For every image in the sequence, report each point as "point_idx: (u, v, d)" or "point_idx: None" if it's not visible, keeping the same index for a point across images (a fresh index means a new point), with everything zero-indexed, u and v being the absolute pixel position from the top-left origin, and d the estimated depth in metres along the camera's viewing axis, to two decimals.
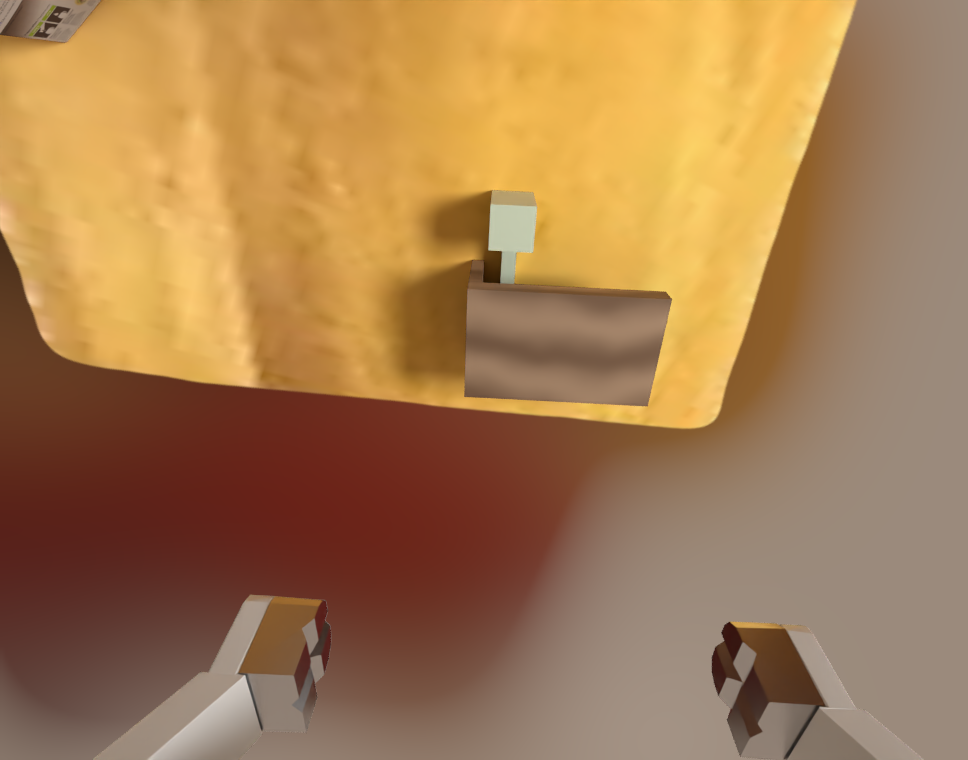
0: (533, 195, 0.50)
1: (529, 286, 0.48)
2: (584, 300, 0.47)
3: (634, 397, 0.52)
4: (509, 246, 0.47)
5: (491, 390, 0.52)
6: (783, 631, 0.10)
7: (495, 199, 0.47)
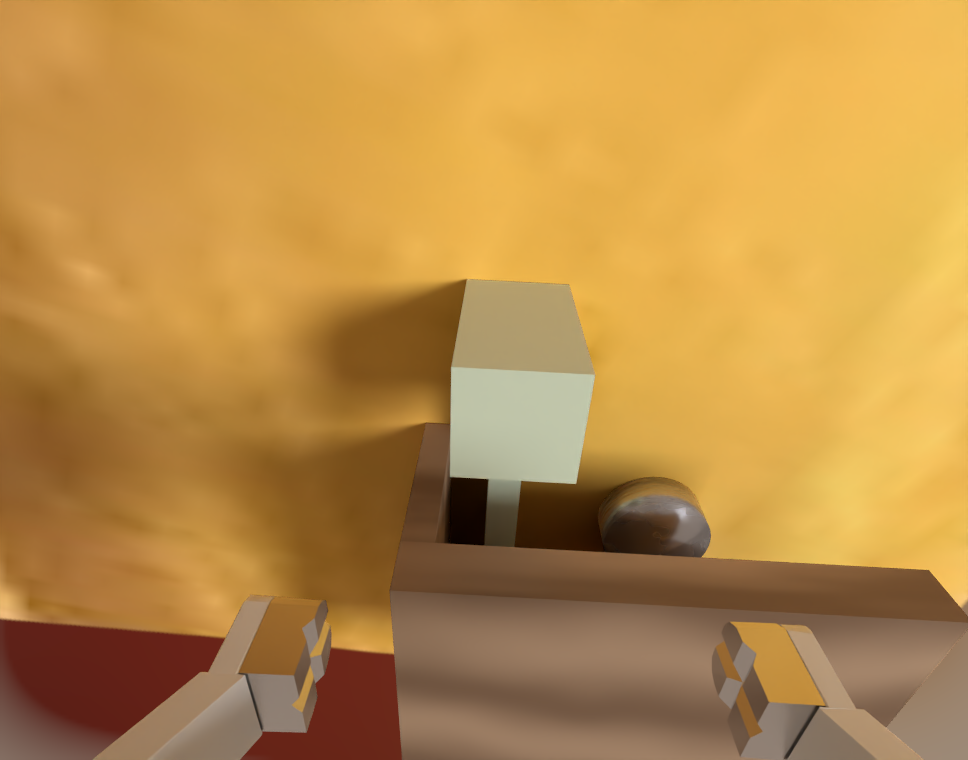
0: (572, 301, 0.19)
1: (563, 561, 0.18)
2: (721, 618, 0.17)
3: None
4: (509, 469, 0.16)
5: (465, 757, 0.22)
6: (783, 631, 0.10)
7: (470, 332, 0.17)
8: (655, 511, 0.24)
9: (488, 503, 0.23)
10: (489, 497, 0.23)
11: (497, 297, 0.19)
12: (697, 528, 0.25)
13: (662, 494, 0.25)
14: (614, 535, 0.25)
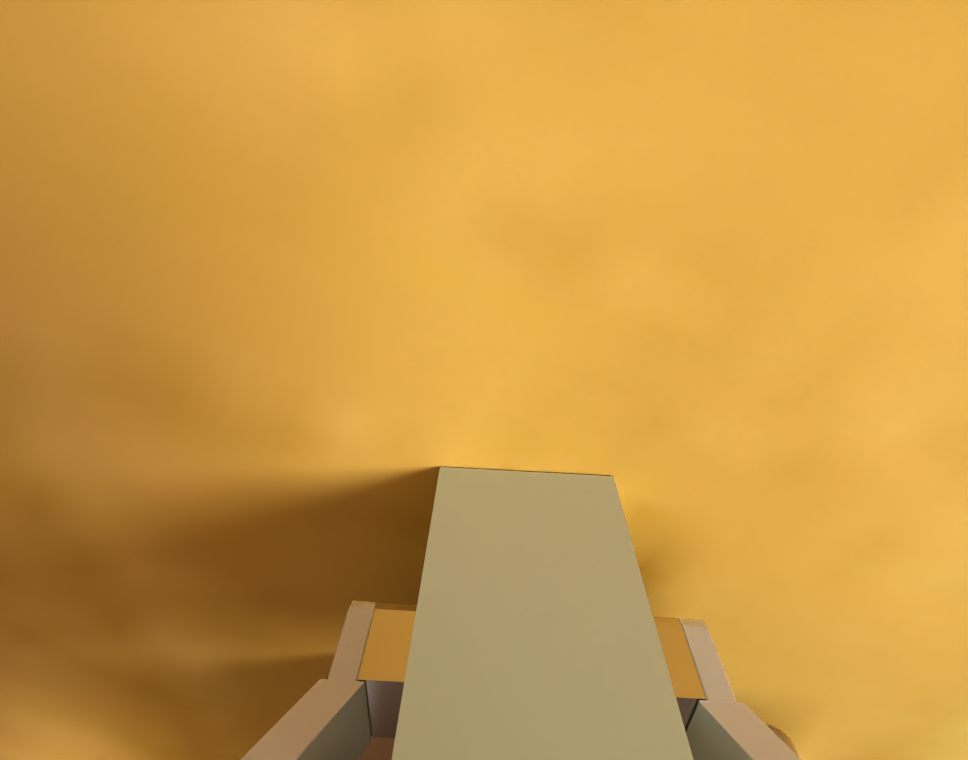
0: (626, 531, 0.11)
1: None
2: None
3: None
4: None
5: None
6: (678, 624, 0.10)
7: (433, 664, 0.08)
8: None
9: None
10: None
11: (491, 523, 0.11)
12: None
13: None
14: None
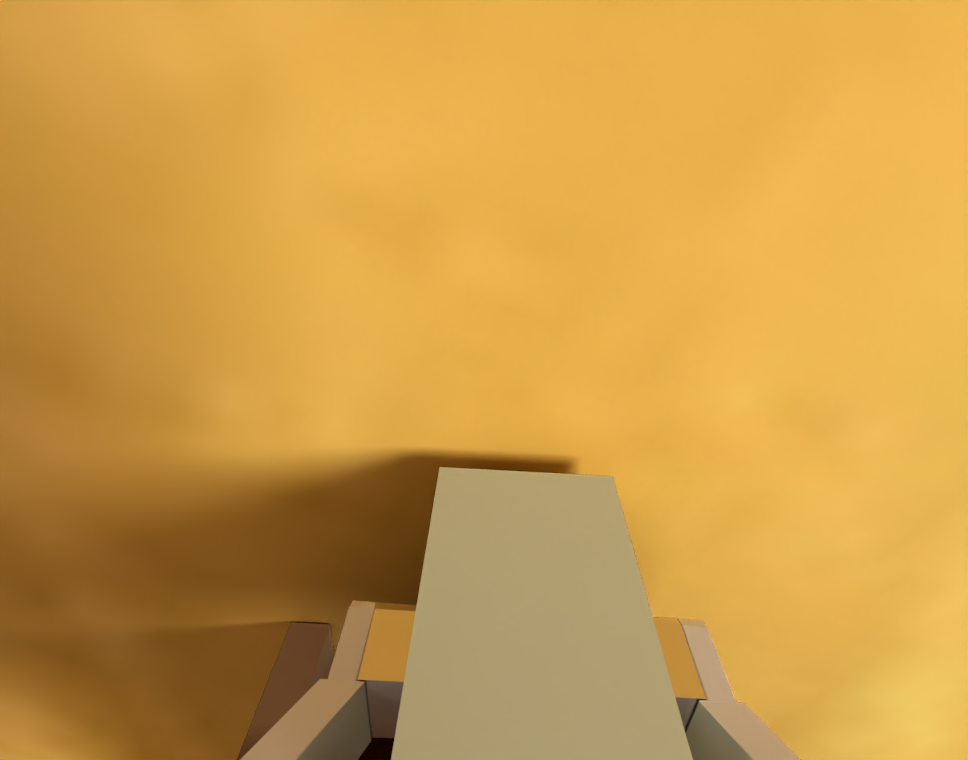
0: (626, 531, 0.11)
1: None
2: None
3: None
4: None
5: None
6: (678, 625, 0.10)
7: (432, 664, 0.08)
8: None
9: None
10: None
11: (490, 523, 0.11)
12: None
13: None
14: None
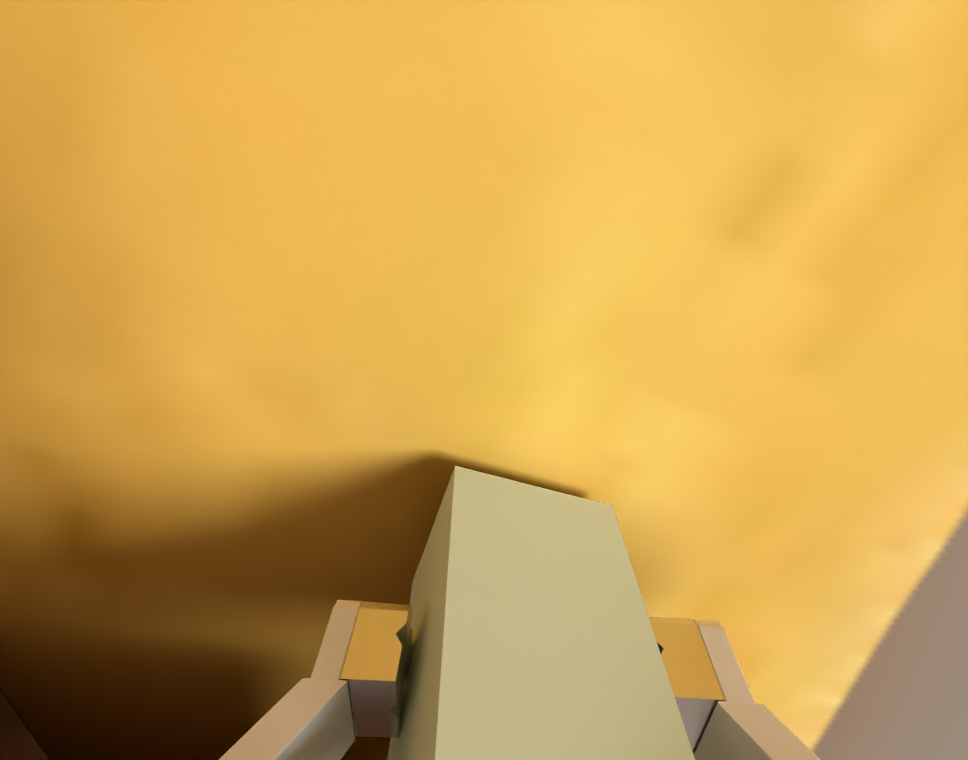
0: (627, 560, 0.11)
1: None
2: None
3: None
4: None
5: None
6: (694, 626, 0.10)
7: (466, 659, 0.08)
8: None
9: None
10: None
11: (507, 530, 0.11)
12: None
13: None
14: None
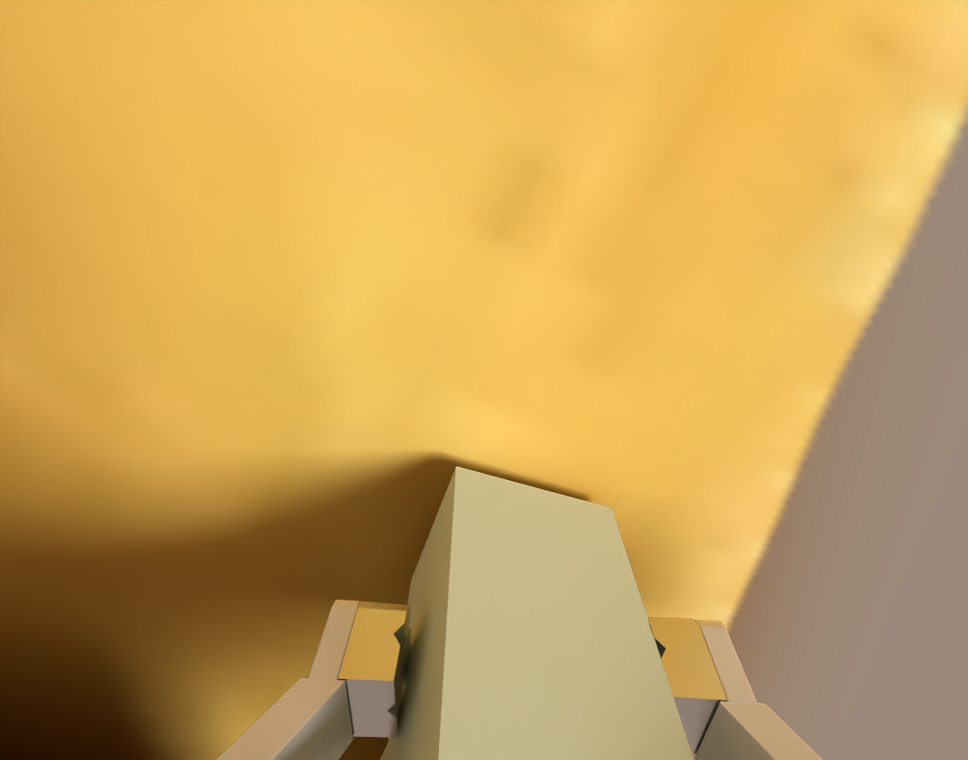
0: (627, 562, 0.11)
1: None
2: None
3: None
4: None
5: None
6: (696, 626, 0.10)
7: (469, 660, 0.08)
8: None
9: None
10: None
11: (508, 532, 0.11)
12: None
13: None
14: None
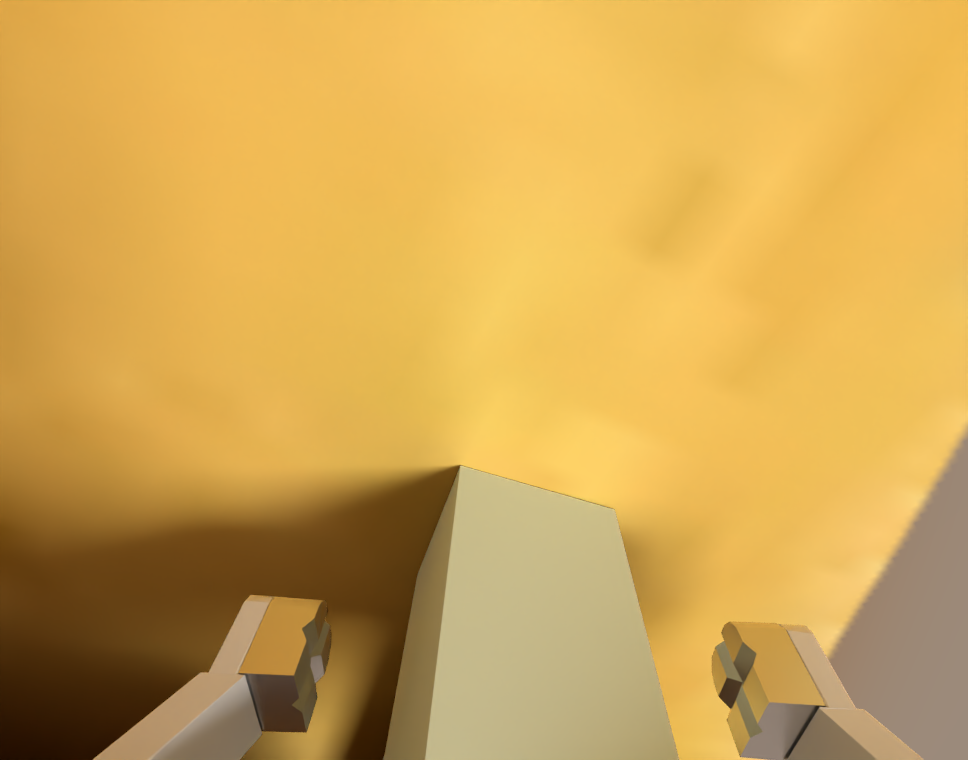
0: (626, 564, 0.12)
1: None
2: None
3: None
4: None
5: None
6: (783, 630, 0.10)
7: (461, 656, 0.08)
8: None
9: None
10: None
11: (509, 531, 0.11)
12: None
13: None
14: None
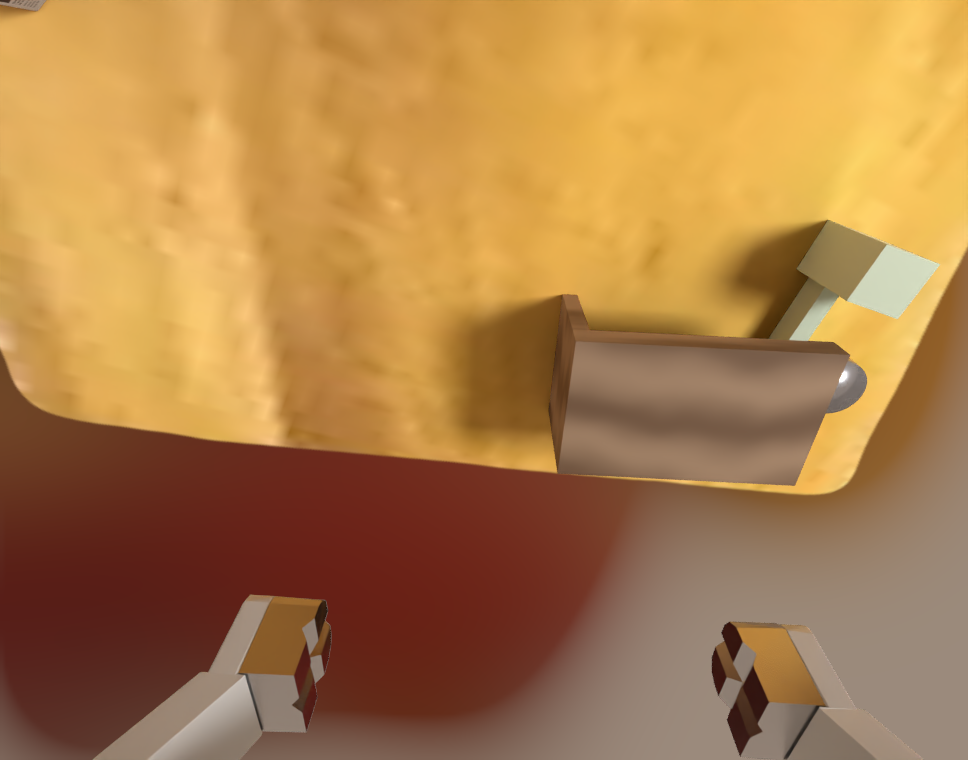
0: None
1: (654, 336, 0.36)
2: (732, 355, 0.35)
3: (779, 475, 0.40)
4: (875, 303, 0.35)
5: (593, 466, 0.40)
6: (783, 631, 0.10)
7: (870, 237, 0.35)
8: (851, 369, 0.43)
9: None
10: None
11: None
12: (858, 390, 0.44)
13: (855, 363, 0.44)
14: None
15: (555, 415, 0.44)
